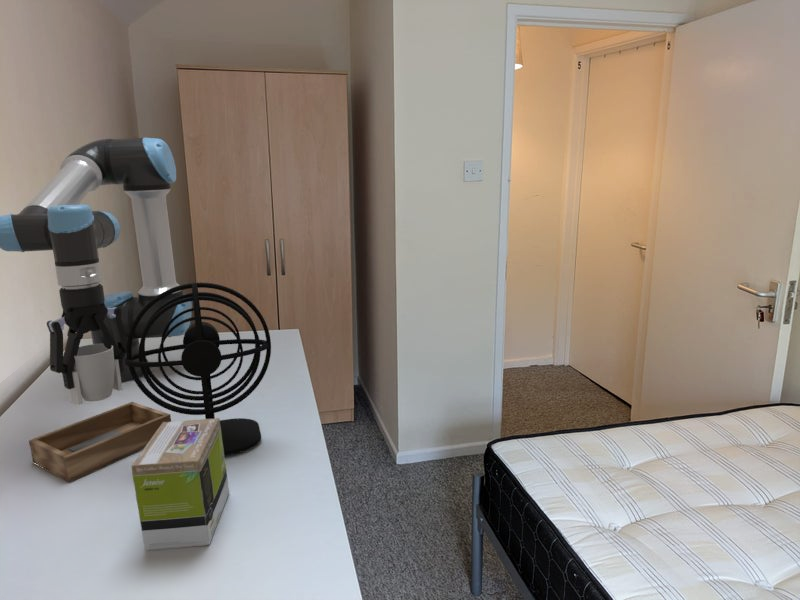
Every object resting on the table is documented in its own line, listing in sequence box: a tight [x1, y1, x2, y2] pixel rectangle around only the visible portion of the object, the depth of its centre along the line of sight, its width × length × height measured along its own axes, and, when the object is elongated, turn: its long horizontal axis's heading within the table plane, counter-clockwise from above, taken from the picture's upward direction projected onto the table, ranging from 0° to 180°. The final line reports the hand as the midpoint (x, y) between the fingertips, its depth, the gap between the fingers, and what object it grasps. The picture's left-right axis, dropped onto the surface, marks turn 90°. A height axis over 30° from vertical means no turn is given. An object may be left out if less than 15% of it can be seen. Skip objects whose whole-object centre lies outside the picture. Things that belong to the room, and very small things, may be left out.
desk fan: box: [125, 282, 272, 456], centre depth 116 cm, size 27×18×35 cm, turn 109°
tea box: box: [131, 417, 230, 551], centre depth 92 cm, size 15×10×15 cm, turn 5°
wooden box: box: [28, 401, 172, 483], centre depth 119 cm, size 14×22×5 cm, turn 147°
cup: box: [73, 343, 115, 402], centre depth 116 cm, size 8×8×10 cm
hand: (97, 395), depth 117 cm, fingers closed on cup, 8 cm apart
